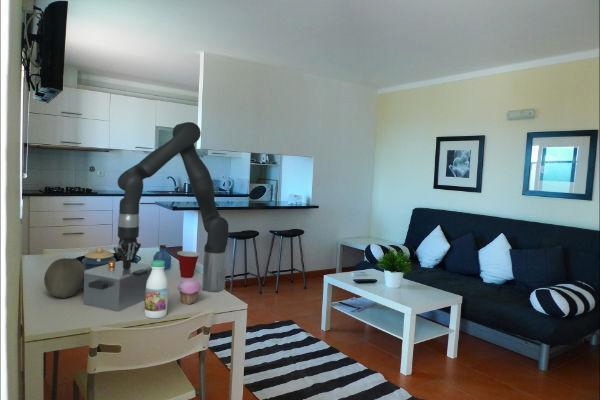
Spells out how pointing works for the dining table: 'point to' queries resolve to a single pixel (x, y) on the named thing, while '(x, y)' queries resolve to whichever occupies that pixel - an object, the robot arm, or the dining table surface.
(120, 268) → the box lid
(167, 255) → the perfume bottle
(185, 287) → the cupcake
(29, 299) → the dining table surface
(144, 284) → the grey storage box
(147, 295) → the milk bottle
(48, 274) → the cantaloupe
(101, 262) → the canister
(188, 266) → the plastic cup
